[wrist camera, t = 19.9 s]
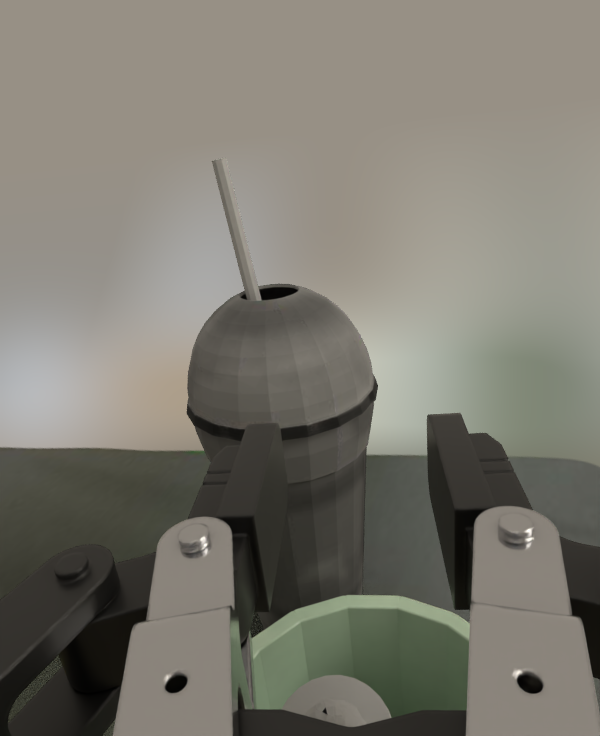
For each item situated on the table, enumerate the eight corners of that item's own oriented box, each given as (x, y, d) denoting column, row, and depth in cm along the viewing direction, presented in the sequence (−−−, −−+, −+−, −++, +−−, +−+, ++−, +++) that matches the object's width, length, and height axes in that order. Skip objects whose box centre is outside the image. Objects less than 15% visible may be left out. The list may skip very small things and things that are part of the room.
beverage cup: (368, 711, 21) (322, 152, 14) (203, 665, 24) (86, 175, 16) (405, 575, 28) (387, 138, 20) (270, 551, 30) (208, 156, 23)
